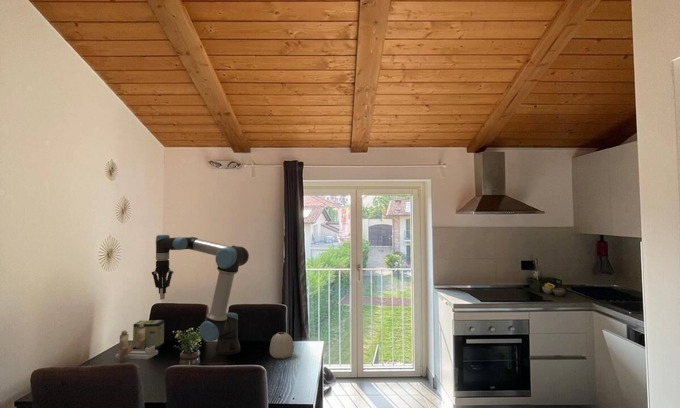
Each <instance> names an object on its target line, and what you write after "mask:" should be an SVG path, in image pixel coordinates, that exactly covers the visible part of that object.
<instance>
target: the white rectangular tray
mask: <svg viewBox="0 0 680 408" xmlns="http://www.w3.org/2000/svg"><path fill="white" fill-rule="evenodd" d="M158 354H159V350H158V349H155V351H154V352H152V353H145V350H135V349H133V348H132V351H130V352H128V359H130V360H131V359H132V360H150V359H151V358H153V357H155V356H157V355H158ZM114 358H115V359H119V352H117V353H116V354H115V355H114Z"/></svg>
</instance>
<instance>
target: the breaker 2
mask: <svg viewBox="0 0 680 408" xmlns="http://www.w3.org/2000/svg"><path fill="white" fill-rule="evenodd" d="M155 350H156V349H155V346H153V345H150V346H148V347H147V348H145V353H152V352H154V351H155Z"/></svg>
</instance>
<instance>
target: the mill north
mask: <svg viewBox="0 0 680 408" xmlns="http://www.w3.org/2000/svg"><path fill="white" fill-rule="evenodd" d="M129 335H130V334H128V331H127V330H123V331H121V333H120V335H119V346H118V347H119V348H118V353H119V358H118V362H120V363H122V362H126V361H128V344H129Z"/></svg>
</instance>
